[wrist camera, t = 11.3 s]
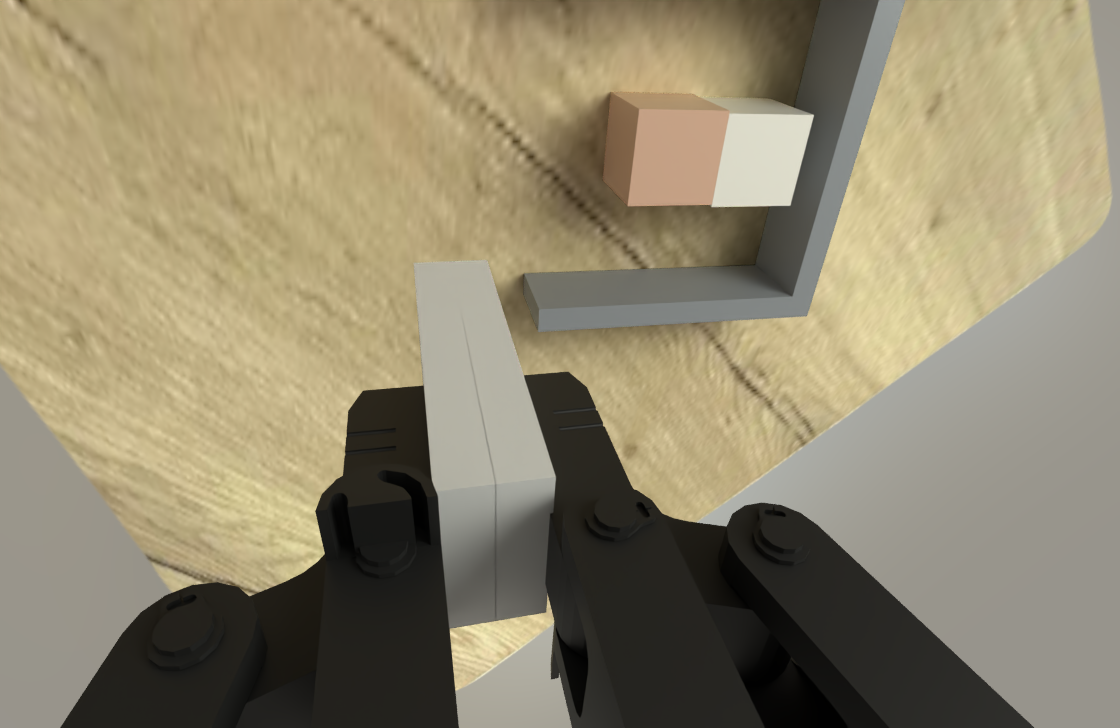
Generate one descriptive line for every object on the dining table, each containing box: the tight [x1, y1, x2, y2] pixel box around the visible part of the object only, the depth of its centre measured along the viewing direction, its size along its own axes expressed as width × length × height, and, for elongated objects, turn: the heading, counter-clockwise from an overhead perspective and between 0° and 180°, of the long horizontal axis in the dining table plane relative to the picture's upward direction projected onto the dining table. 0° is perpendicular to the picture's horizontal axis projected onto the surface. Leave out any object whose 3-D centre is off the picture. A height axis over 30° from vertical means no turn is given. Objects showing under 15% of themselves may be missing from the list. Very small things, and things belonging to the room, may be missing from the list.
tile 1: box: [603, 92, 730, 206], centre depth 35 cm, size 5×5×5 cm
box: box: [523, 0, 905, 332], centre depth 36 cm, size 20×18×5 cm
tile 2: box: [701, 97, 814, 207], centre depth 36 cm, size 5×5×5 cm
